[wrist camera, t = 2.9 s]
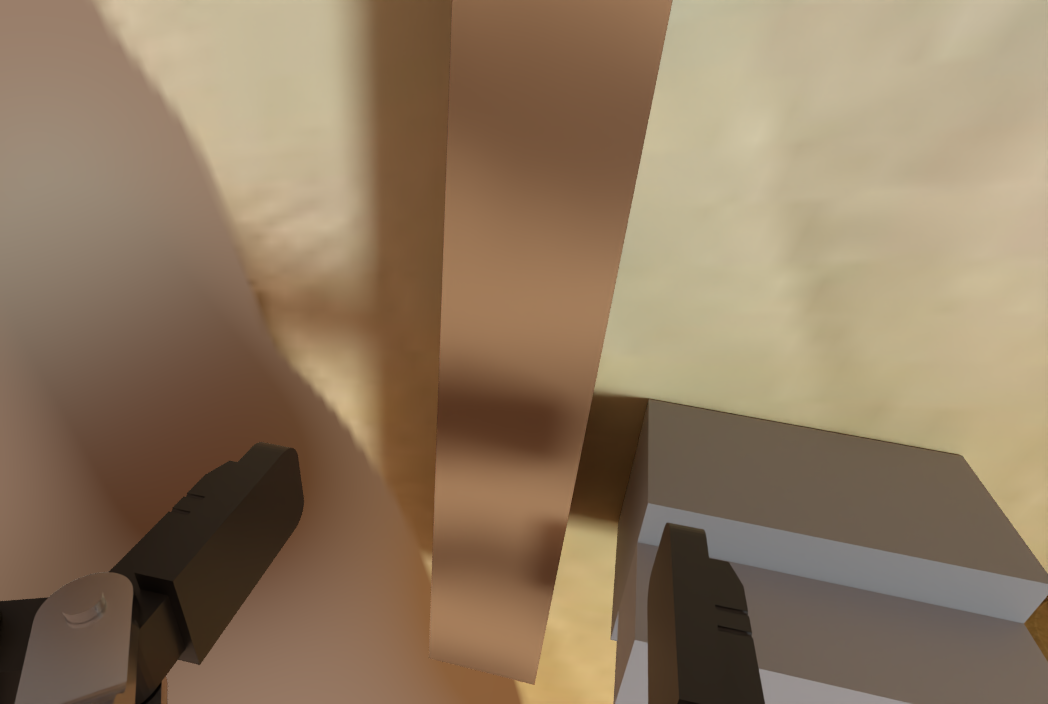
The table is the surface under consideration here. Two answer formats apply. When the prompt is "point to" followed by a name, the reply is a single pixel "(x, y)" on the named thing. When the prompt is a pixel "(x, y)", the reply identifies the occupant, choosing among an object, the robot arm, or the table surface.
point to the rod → (527, 297)
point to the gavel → (1039, 627)
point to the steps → (836, 562)
